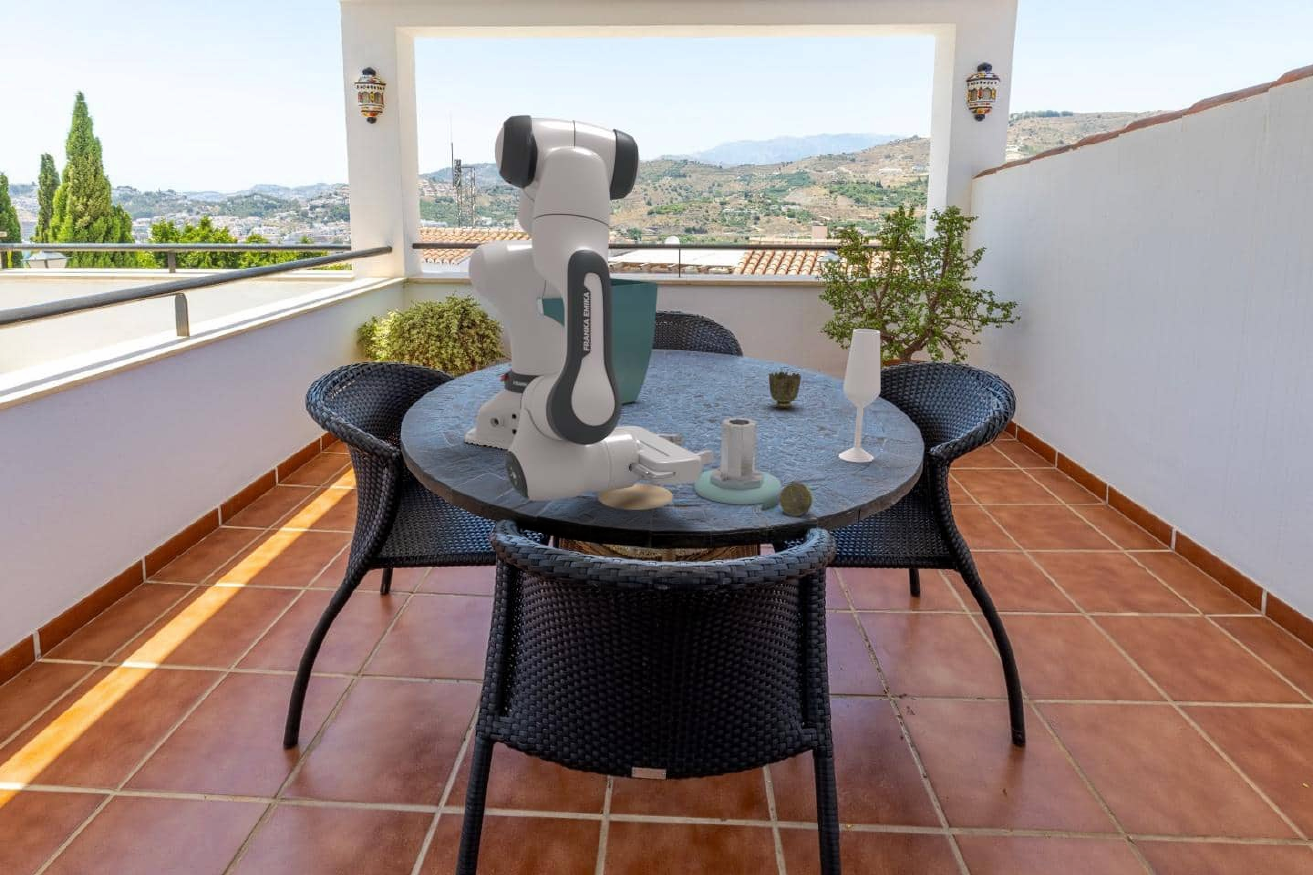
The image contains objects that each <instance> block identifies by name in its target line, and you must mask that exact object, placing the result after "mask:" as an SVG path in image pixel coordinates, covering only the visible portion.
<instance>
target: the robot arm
mask: <svg viewBox="0 0 1313 875" xmlns="http://www.w3.org/2000/svg"><path fill="white" fill-rule="evenodd" d="M494 158H495V162H496V166H497V169H498V174H499V176H500V177H501V178H502V179H503V180H504V182H506V184H509V185H511V186H513V187H516V188H519V189H520V192H519V199H518V204H517V210H516V211H517V213H516V214H517V215H516V217H517V220H518V223H519V227H520V228H521V229H522V230H523V232H524V233H525V234H526V235H527V236H528V237H529V238H530V239H502V240H496V241H495V240H494V241H491V242H487V243H482V244H479V245H477V247H475V249H474V250H473V252H472V254H471V255H470V259H469V262H468V277H469V281H470V283H471V285H472V286H473V288H474V289H475V291H476V292H477V293H478V294H479V295H480V296H481V297H483V298H484V299H486V300H487V301H488V303H489V302H490V303H491V304H492V305H493V307H494V308H495V309H496V310H497V311H498V313H499V314H500V315H501V317H502V319H503V320H504V324H505V326H506V328H507V331H508V336H509V344H510V354H511V355H510V356H511V368H510V369H509V370H508V371H506V372H504V374H503V375H500V378H501V379H500V380H499V381H500V382H504V386H503V388H502V390H500V391H499V392H497V393H496V394H495V395H494V396H493V397H491V398H490V399H489V400H488V401H486V402H485V403H483V405H481V406H480V408H479V410H478V412H477V414H476V415H477V416H476V419H475V427H473V428H472V429H469V430H468V431H467V432H466V433H465V434H464V442H465V443H466V442H468V443H467V444H471V443H473V444H472V445H477V444H478V445H479V446H483V445H487V446H486V447H489V446H492V447H491V448H495V447H497V449H501V448H502V450H507V449H508V450H507V451H506V452H505V453H506V454H505V469H506V472H507V473H506V474H507V476H508V478H509V482H510V483H511V486H513V488H514V490H515V491H516V493H517V494H519V495H520V496H522V498H524V499H527V500H529V501H535V502H536V501H537V502H539V501H540V502H541V501H543V502H544V501H545V502H546V501H555V500H562V499H563V500H564V499H570V498H575V497H578V496H580V495H582V494H585V493H588V492H594V493H599V492H606V491H611V490H617V489H623V488H629V487H632V486H633V485H634V484H637V483H636V482H637V481H638V478H641V477H642V479H644V480H646V481H648V482H650V483H651V484H652V485H656V486H671V485H680V484H683V485H684V484H689V483H695V482H696V481H698V480H699V479H700V478H701V475H702V473H703V470H702V469H703V466H704V465H706V464H712V463H713V462H714V461H715V452H714V451H713V450H710V449H709V448H706V449H700V450H699V452H696V453H695V452H692V451H689V450H688V449H686V448H683V447H682V445H683V437H682V436H681V435H679V434H678V433H677V434H676V433H674V434H672V433H671V434H664V433H663V434H662V433H653V432H651V431H649V430H647V429H645V428H643V427H641V426H636V425H621V426H617V425H618V424H619V421H620V418H621V415H622V408H623V406H622V405H623V404H622V400H621V394H620V390H619V387H618V384H617V381H616V378H615V374H614V370H613V363H612V301H611V281H610V278H611V275H610V268H609V246H610V244H609V243H610V229H611V228H610V226H611V201H615V200H622V199H625V198H626V197H627V196H628V195H629V194H630V193H631V192H632V191H633V189H634V186H635V184H636V182H637V180H638V178H639V174H640V169H641V166H640V164H641V162H640V161H641V160H640V159H641V158H640V154H639V146H638V143H637V142H636V141H635V139H634V137H633V136H632V135H630V134H629V133H626V132H624V131H621V130H619V129H617V128H613V129H612V130H611V129H609V128H606V127H603V126H598V125H595V124H591V123H587V122H584V121H583V122H582V121H579V120H578V121H577V120H572V121H571V120H565V119H559V118H545V117H532V116H531V115H528V114H526V115H525V114H523V115H521V114H520V115H511V116H510V117H508V118H507V119H506V120H505V121H504V122H503V125H502V127H501V128H500V130H499V133H498V134H497V137H496V140H495V144H494ZM550 298H562V299H563V302H564V308H565V327H564V326H563V325H562V324H561V323H559V322H558V321H556V320H554V319H552V318H550V317H548V316H546V315H544V314H543V313H542V312H540V310H539V307H538V300H542V299H550Z"/></svg>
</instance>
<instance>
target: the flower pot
mask: <svg viewBox="0 0 1313 875" xmlns="http://www.w3.org/2000/svg"><path fill="white" fill-rule="evenodd" d="M610 281H611V301H612V363H613V370H614V374H615V378H616V381H617V384H618V387H619V390H620V394H621V400H622V405H623V404H626V403H631V402H632V403H633V402H636V401H637V400H638V398H639V395H640V393H641V390H642V388H643V385H644V382H645V379H646V376H647V372H648V368H649V364H650V360H651V356H652V352H653V351H652V350H653V345H654V340H655V339H654V338H655V325H656V314H657V313H656V312H657V298H658V288H659V282H656V281H647V280H638V279H626V278H617V277H616V278H615V277H610ZM541 304H542V305H541V306H542V314H543V315H546V316H548V317H550V318H552V319H554V320H556V321H558V322H559V323H561V324H562V325H563V326H564V327H565V308H564V302H563V299H562V298H550V299H541Z"/></svg>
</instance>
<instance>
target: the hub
mask: <svg viewBox="0 0 1313 875" xmlns="http://www.w3.org/2000/svg"><path fill="white" fill-rule="evenodd" d="M714 470H715V469H711V470H706V471H704V472H703V471H702V475H701V478H700V479H699V480H698V481H696V482H694V491H695V493H697V495H699V496H700V497H702V498H704V499H707V500H710V501H713V502H717V503H721V504H728V505H757V504H762V503H763V504H762V505H761V507H760V511H762V510H766V509H770V508H772V507H774V506H776V505H777V504H778V503H779V504H780V494H781V492H782V489H781V488H782V483H781V480H780V479H779V478H778V477H776V476H775V475H773V474H771V473H767V472H765V471H761V470H758V471H759V472H761V473H764V481H763V483H762V485H761V487H760V488H754V489H749V490H743V491H742V490H733V489H724V488H720V487H718V486H716V485H715V484H713V483H711V482H710V475H711V474H712V472H713V471H714Z"/></svg>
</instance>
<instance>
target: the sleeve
mask: <svg viewBox="0 0 1313 875" xmlns="http://www.w3.org/2000/svg"><path fill="white" fill-rule="evenodd" d="M757 423H758V422H757V421H756V420H754V419H750V418H742V417H732V418H725V419H723V421H722V422H721V447H720V448H721V449H720V451H721V452H720V467H718V468H715V469H713V470H714V471H713V472H712V474H711V475H710V482H711V483H713V484H715V485H716V486H718V487H720V488H724V489H733V490H742V491H743V490H749V489H754V488H760V487H761V485H762V483H763V481H764V473H761V472H762V471H761V472H759V471H760V470H757V469H756V468H755V466H756V445H757V426H758V424H757Z"/></svg>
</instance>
